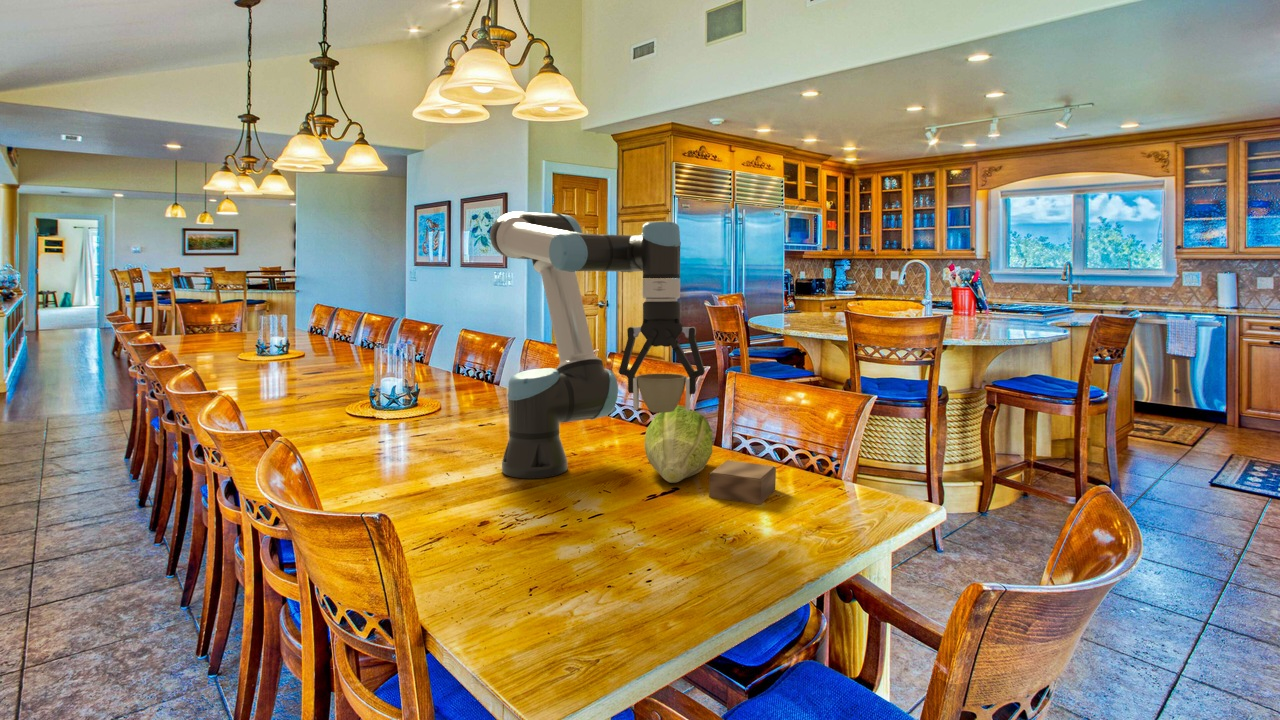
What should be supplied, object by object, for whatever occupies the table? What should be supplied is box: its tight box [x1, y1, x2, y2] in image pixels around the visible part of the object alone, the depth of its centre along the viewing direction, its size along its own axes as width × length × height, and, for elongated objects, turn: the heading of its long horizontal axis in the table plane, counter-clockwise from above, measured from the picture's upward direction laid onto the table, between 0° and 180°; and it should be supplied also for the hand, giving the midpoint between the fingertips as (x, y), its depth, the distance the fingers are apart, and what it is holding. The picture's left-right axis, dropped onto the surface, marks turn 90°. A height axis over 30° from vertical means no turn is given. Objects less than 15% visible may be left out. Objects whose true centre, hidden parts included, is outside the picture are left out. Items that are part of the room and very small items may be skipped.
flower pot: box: [636, 373, 687, 414], centre depth 143 cm, size 10×10×7 cm
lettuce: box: [644, 404, 713, 484], centre depth 161 cm, size 15×24×16 cm
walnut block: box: [708, 460, 777, 505], centre depth 147 cm, size 11×11×5 cm
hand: (661, 409), depth 143 cm, fingers closed on flower pot, 10 cm apart
